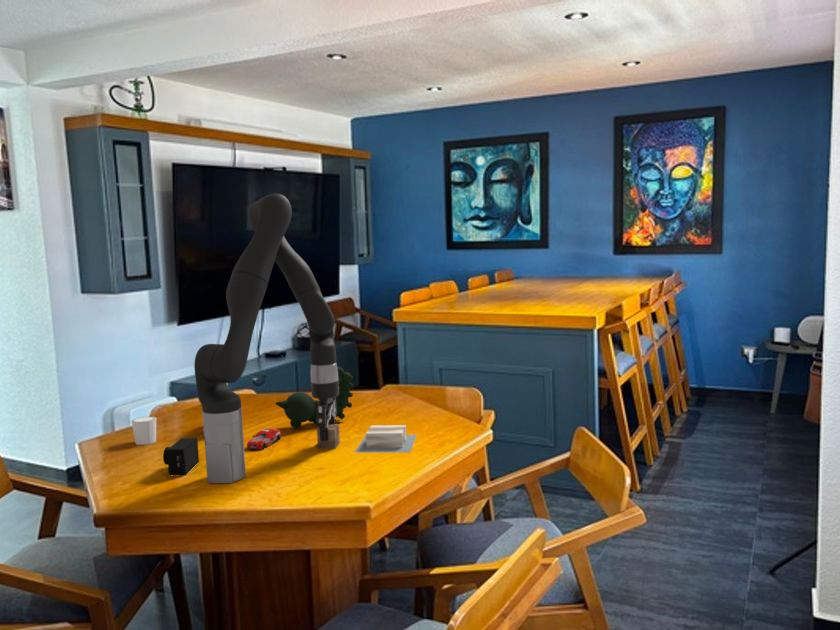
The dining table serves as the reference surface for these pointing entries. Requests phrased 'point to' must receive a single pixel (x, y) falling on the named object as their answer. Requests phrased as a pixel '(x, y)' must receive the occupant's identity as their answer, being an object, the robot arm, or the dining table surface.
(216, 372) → the robot arm
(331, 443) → the walnut block
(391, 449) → the mat
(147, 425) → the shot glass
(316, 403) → the toy figurine
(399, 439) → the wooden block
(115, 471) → the dining table surface
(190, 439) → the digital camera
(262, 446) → the race car
